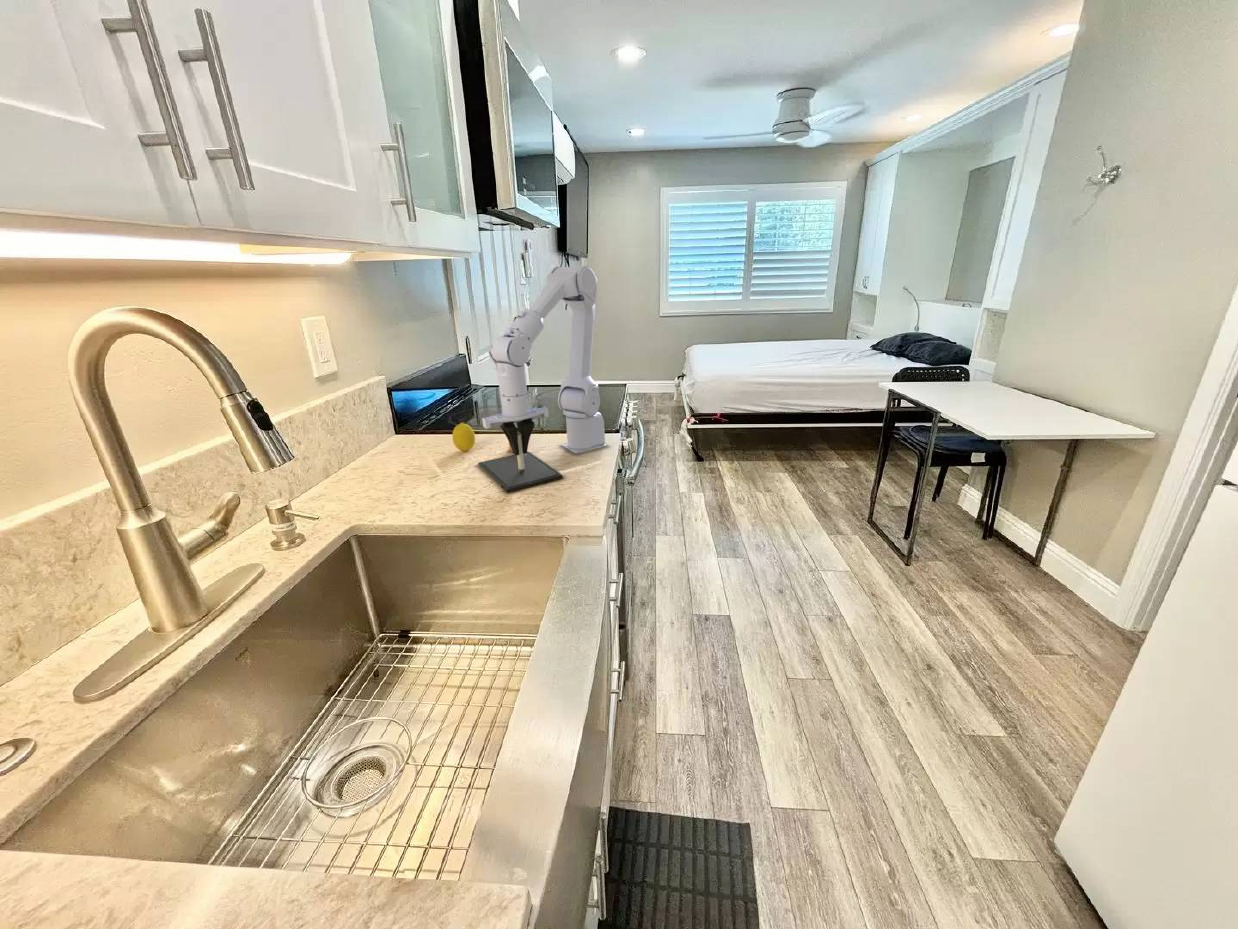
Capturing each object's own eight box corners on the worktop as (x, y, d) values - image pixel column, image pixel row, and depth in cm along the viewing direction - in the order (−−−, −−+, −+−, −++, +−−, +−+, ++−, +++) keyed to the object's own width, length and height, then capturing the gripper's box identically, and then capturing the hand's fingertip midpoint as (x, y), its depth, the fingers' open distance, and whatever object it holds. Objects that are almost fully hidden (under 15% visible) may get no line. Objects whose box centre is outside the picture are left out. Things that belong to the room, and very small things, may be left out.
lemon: (470, 456, 124) (466, 426, 121) (451, 455, 125) (446, 425, 122) (480, 449, 129) (476, 420, 126) (461, 448, 130) (457, 419, 127)
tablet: (528, 454, 125) (528, 450, 124) (562, 478, 110) (562, 474, 109) (478, 466, 118) (478, 462, 118) (507, 493, 103) (507, 489, 103)
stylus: (523, 469, 113) (519, 432, 110) (526, 471, 112) (522, 433, 108) (517, 470, 112) (513, 433, 109) (520, 472, 111) (516, 435, 108)
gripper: (537, 385, 112) (542, 441, 117) (474, 395, 105) (482, 454, 110) (550, 391, 107) (555, 450, 112) (485, 401, 99) (493, 464, 104)
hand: (520, 453), depth 110 cm, fingers closed on stylus, 1 cm apart
